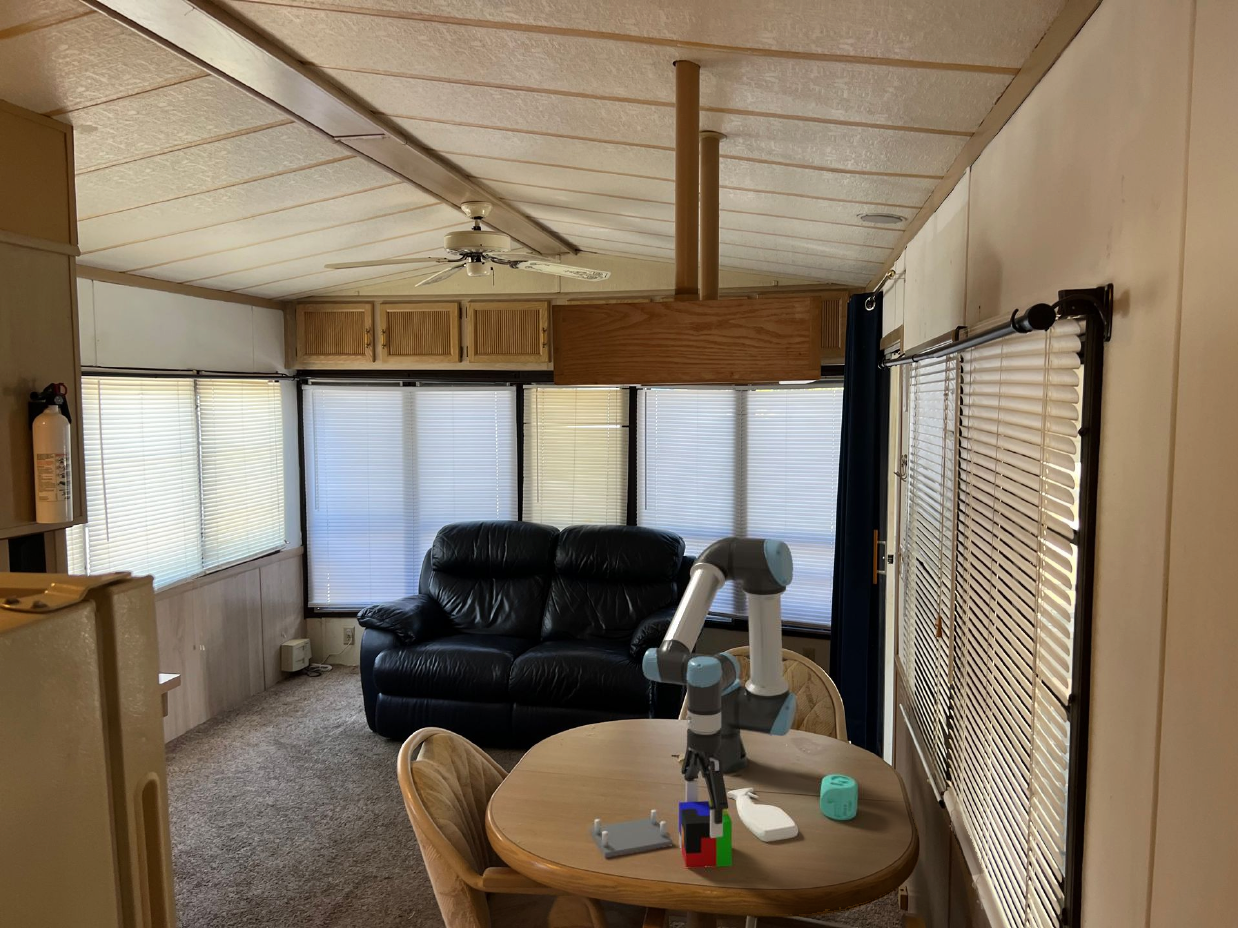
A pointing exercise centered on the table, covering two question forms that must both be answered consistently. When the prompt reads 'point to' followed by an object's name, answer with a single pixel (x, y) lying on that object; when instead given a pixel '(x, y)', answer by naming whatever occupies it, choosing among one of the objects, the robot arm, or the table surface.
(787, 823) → the spray bottle
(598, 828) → the pin tray
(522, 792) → the table surface
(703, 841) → the puzzle toy
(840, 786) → the decorative dice
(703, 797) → the table surface
